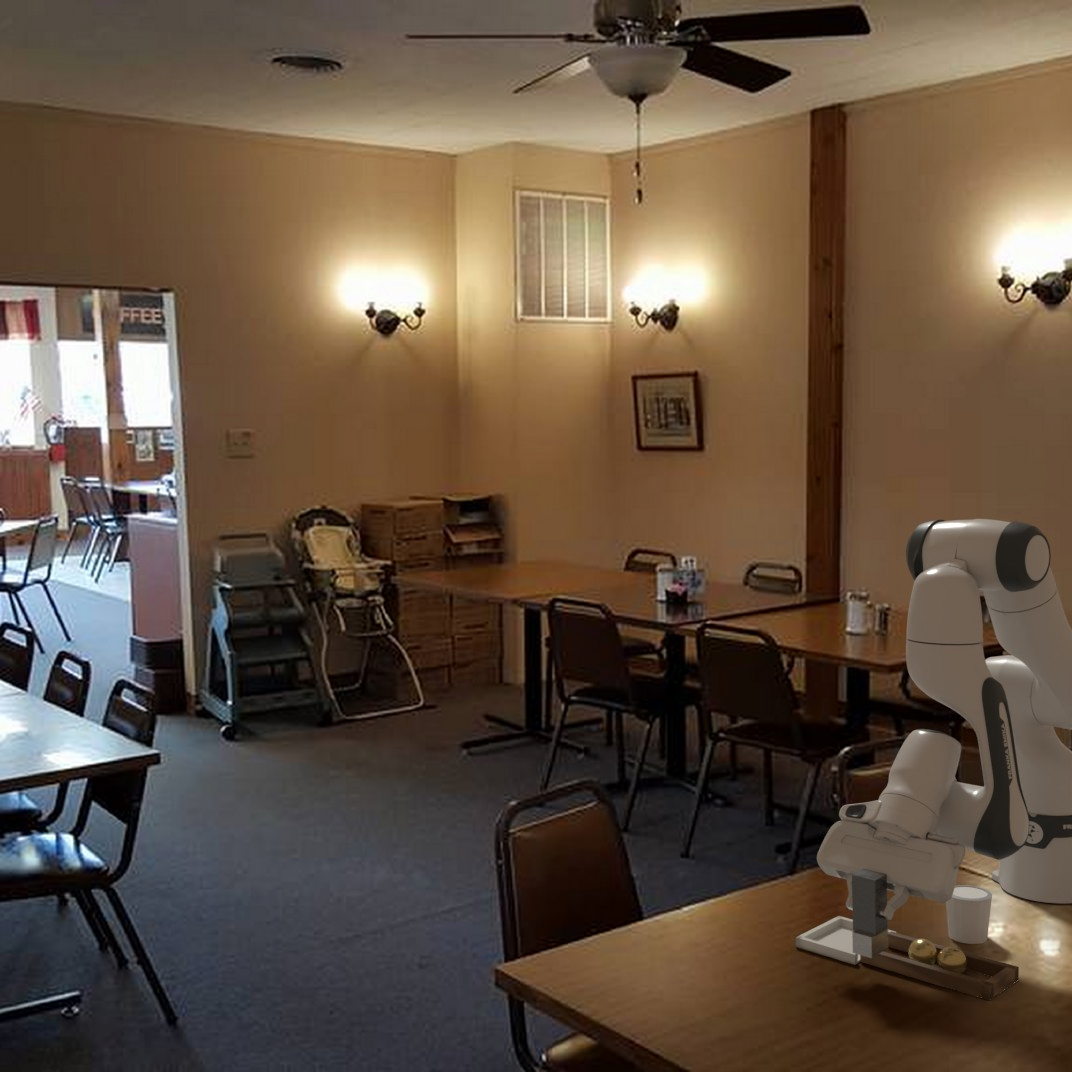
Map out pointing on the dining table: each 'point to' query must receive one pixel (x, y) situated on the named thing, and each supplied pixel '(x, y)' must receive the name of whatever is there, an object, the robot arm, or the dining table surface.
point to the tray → (831, 940)
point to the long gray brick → (869, 913)
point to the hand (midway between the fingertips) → (867, 913)
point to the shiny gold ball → (923, 951)
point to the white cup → (969, 914)
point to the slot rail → (987, 989)
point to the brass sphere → (952, 960)
